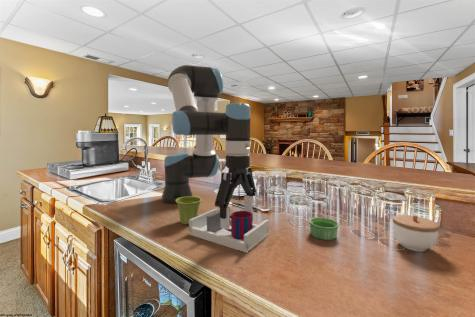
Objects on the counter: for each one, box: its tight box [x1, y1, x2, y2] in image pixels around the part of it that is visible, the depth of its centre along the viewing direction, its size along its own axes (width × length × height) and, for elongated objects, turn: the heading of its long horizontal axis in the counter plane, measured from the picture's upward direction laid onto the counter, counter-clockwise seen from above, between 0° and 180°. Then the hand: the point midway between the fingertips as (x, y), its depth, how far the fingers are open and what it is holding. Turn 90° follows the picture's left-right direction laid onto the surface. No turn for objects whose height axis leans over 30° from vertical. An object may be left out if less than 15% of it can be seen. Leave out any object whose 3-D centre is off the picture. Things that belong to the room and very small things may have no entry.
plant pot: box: [176, 196, 203, 225], centre depth 87 cm, size 9×9×9 cm
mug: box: [225, 210, 254, 240], centre depth 73 cm, size 7×10×7 cm
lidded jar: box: [392, 214, 440, 253], centre depth 68 cm, size 11×11×9 cm
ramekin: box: [309, 216, 340, 241], centre depth 76 cm, size 9×9×4 cm
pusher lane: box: [188, 208, 270, 254], centre depth 76 cm, size 22×14×5 cm, turn 57°
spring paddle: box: [207, 207, 231, 233], centre depth 78 cm, size 1×11×6 cm, turn 147°
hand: (237, 221), depth 74 cm, fingers open, 13 cm apart
